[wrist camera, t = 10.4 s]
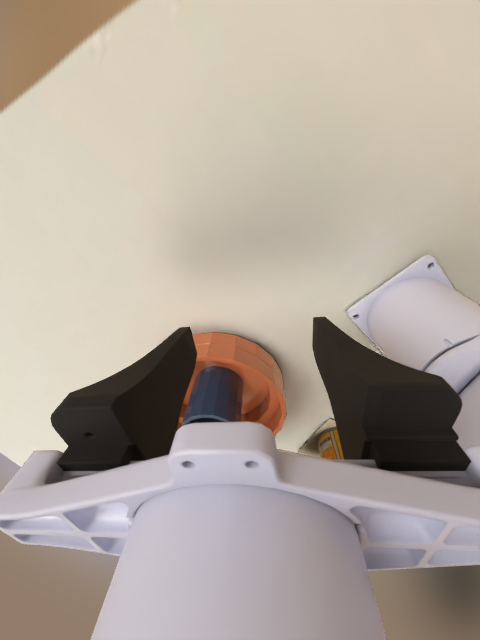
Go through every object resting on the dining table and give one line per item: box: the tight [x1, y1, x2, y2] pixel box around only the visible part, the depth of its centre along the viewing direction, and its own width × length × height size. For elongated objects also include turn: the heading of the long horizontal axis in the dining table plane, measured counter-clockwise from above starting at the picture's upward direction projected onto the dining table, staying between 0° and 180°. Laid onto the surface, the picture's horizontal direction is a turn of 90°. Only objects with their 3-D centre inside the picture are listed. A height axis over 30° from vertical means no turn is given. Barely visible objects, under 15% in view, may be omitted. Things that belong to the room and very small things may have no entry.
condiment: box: [298, 419, 344, 460], centre depth 29 cm, size 7×8×12 cm
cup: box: [180, 366, 243, 428], centre depth 26 cm, size 6×6×6 cm
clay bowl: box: [177, 332, 287, 436], centre depth 27 cm, size 15×15×4 cm
